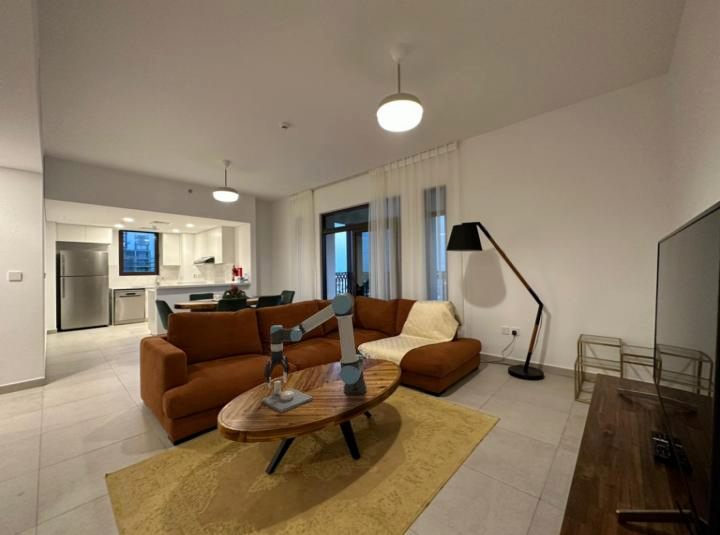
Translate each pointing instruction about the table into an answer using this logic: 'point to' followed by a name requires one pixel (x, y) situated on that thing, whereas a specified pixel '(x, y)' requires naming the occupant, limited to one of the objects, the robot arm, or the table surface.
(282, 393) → the locking lever
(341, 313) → the robot arm
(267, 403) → the lock base
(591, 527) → the table surface
